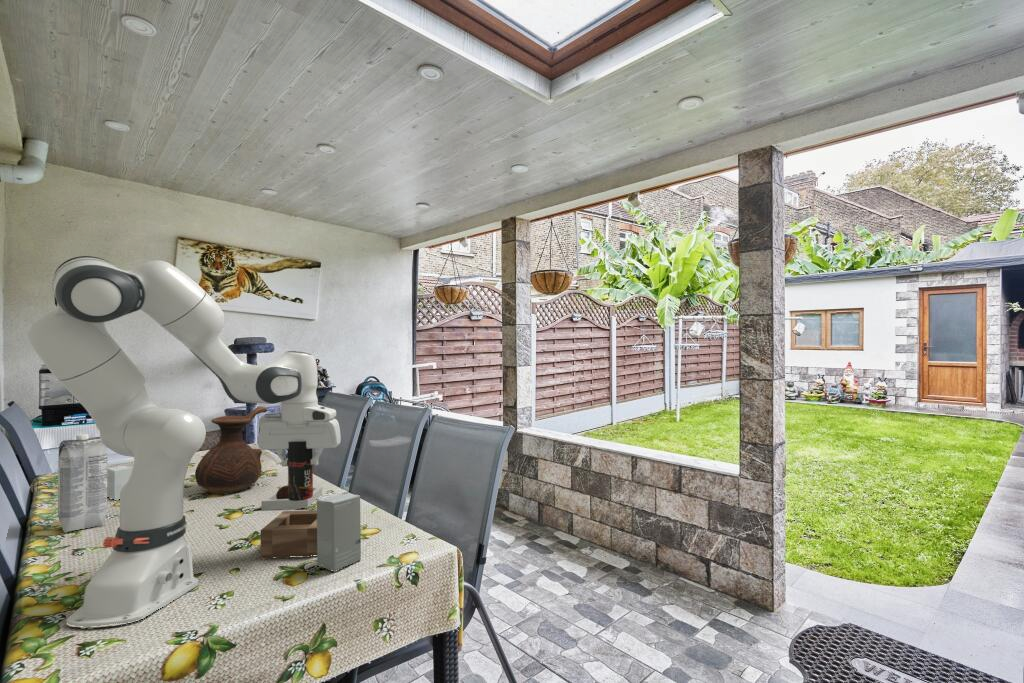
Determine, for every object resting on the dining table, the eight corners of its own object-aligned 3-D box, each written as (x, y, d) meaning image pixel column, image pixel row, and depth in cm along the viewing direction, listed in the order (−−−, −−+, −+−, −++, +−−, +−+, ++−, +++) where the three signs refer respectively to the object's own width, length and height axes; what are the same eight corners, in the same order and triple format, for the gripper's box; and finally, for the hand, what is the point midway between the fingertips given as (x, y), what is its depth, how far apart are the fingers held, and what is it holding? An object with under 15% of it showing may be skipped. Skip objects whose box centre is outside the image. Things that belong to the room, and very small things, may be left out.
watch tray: (307, 508, 155) (307, 499, 155) (261, 510, 154) (261, 501, 154) (322, 495, 170) (322, 486, 170) (280, 496, 169) (280, 488, 169)
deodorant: (303, 501, 122) (302, 442, 122) (283, 500, 124) (282, 442, 124) (317, 494, 128) (317, 438, 128) (298, 493, 129) (297, 437, 129)
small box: (133, 497, 171) (133, 467, 171) (114, 501, 166) (114, 470, 166) (124, 493, 175) (124, 464, 175) (105, 497, 170) (105, 468, 170)
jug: (242, 498, 168) (242, 412, 168) (181, 498, 168) (181, 413, 169) (273, 481, 190) (273, 405, 190) (219, 481, 190) (219, 405, 190)
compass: (301, 500, 165) (301, 479, 165) (295, 507, 157) (295, 485, 157) (276, 502, 163) (276, 480, 163) (269, 509, 155) (269, 487, 155)
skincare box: (334, 573, 109) (333, 504, 110) (314, 566, 113) (314, 499, 114) (363, 559, 117) (362, 494, 117) (343, 553, 120) (343, 490, 121)
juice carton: (108, 525, 142) (108, 434, 143) (59, 535, 134) (60, 439, 135) (103, 518, 148) (104, 431, 149) (57, 528, 140) (57, 435, 141)
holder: (318, 556, 119) (318, 528, 119) (260, 558, 118) (260, 530, 118) (335, 534, 133) (335, 509, 133) (283, 536, 132) (283, 511, 132)
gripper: (253, 415, 122) (253, 469, 122) (335, 413, 124) (335, 467, 123) (264, 412, 128) (264, 463, 128) (342, 410, 130) (342, 461, 130)
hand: (300, 465), depth 126 cm, fingers closed on deodorant, 6 cm apart
